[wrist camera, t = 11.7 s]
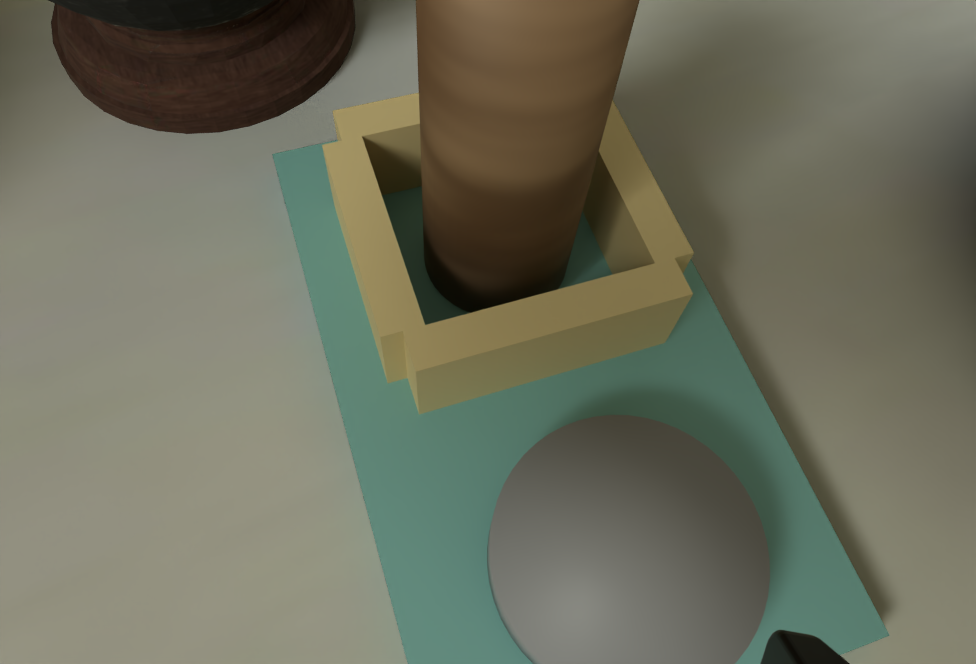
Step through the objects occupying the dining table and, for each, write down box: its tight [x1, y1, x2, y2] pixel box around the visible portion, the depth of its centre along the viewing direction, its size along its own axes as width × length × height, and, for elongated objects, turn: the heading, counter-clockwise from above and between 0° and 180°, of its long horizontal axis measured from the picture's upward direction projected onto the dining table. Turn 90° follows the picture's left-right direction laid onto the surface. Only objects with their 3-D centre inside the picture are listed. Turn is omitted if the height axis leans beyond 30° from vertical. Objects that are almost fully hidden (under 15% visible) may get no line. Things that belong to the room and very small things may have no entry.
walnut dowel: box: [416, 0, 639, 313], centre depth 19 cm, size 5×5×13 cm
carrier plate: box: [272, 93, 889, 664], centre depth 22 cm, size 20×12×4 cm, turn 18°
